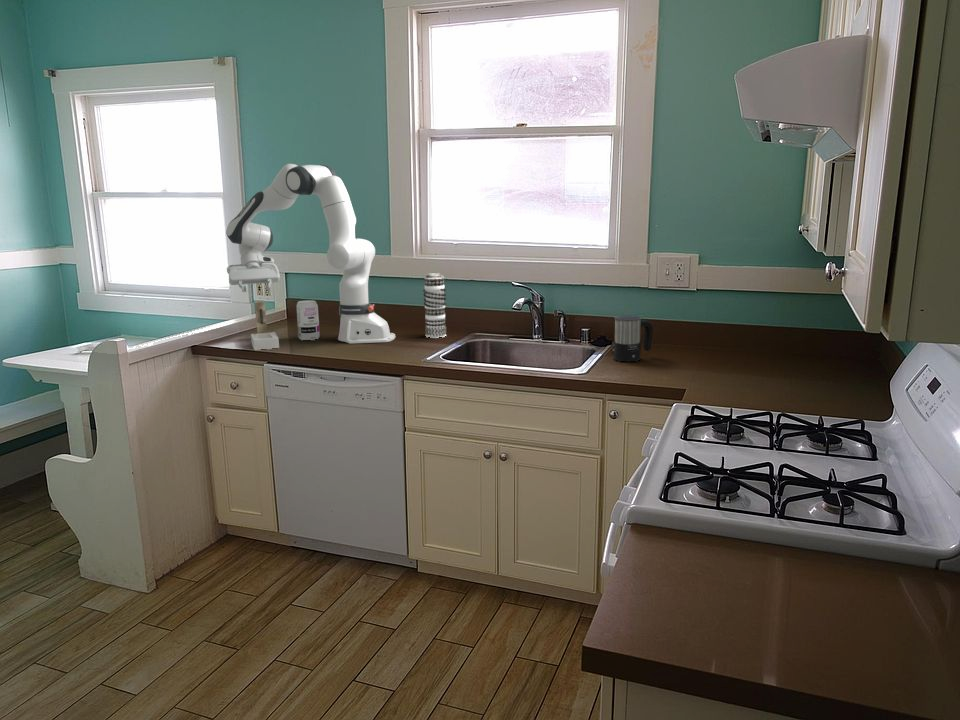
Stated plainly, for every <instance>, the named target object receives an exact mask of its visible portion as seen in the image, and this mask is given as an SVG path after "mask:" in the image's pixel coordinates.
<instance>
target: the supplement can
mask: <svg viewBox="0 0 960 720" xmlns="http://www.w3.org/2000/svg"><path fill="white" fill-rule="evenodd" d="M295 308H296V318H297V319H296V320H297V321H296V322H297V335H298V339H299V340H300V341H303V340H311V341H316V340H315V339H317V340H318V339H319V338H320V335H321V334H320V320H319V305H318V303H317V301H316V300H311V299H310V300H308V299H307V300H299V301H297V303H296V307H295Z"/></svg>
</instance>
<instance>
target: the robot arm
mask: <svg viewBox="0 0 960 720" xmlns="http://www.w3.org/2000/svg"><path fill="white" fill-rule="evenodd" d="M299 195H300V196H305V195H306V196H311V195H316V196H317V197H318V198H319V201H320V204H321V207H322V211H323V214H324V217H325V221H326V224H327V229H328V234H329V235H328V236H329V246H328V250H327V251H326V252H327V253H326V258H327V261H328V264H329V265H330V266H331V267H333V268H334V269H337V270H340V271H341V270H342V271H343V274H342V277H341V280H340V282H339V285H338V286H339V288H338V289H339V306H338V311H339V313H338V315H339V318H340V324H339V325H340V326H339V333H338V337H337V340H338V341H340V342H345V343H347V344H369V343H370V344H371V343H388V342H392V341H393V340H395V339H396V334H395V333H394V332H390V331H391V330H390V327H389V324H388V321H386V320H385V319H384V318H383V317H381V316H380V315H378V314H377V313H376V312H375V303H374V304H372V303H370V302H369V301H370V300H369V277H370V272H371V267H372V263H373V260H374V258H375V255H376V247H375V246H374V244H373V242H371V241H370V240H367V239H364V238H356V224H357V216H356V214H355V210H354V208H353V205H352V201H351V198H350V195H349V193H348V190H347V188H346V186H345V184H344V182H343V180H342V179H341V177H339V176H337V173H336V171H335V169H334V168H332V167H331V166H329V165H326V164H325V165H324V164H318V165H317V164H304V165H297V164H295V163H287V164H285V165H283V167H282V168H281V169H280V170H279V171H278V173H277V174H276V175H275V177H274V178H273V180H272V182H271V183H270V185H268V187H266V188H265V189H263V190H260V191H257V192H256V193H255V194H254V195H253V196H252V197H251V198H250V199H249V200H248V202H247V203H246V204H245V205H244V207H243V208H242V209H241V210H240V212H239V213H238V214H237V215H236V216H235V217H234V218H233V219H232V220H231V221H229V223H228V224H227V227H226V236H227V238H228V239H229V241H230V242H231V243H232V244H235V245H236V244H238V252H239V254H240V264H231V265H229V266H227V267H226V272H227V274H228V283H229V284H230V285H231V286H238V287H239V288H240V289H241V292H242V293H247V286H246V285H255V284H266V285H265V289H266V291H270V290H271V286H272V284H273V283H274V284H275V283H278V282H280V281H281V280H280V279H281V276H280V275H281V274H280V271H279V268H278V266H277V264H275V260H274V258H273V257H269V256H266V255H265V256H264V255H262V254H263V253H265V252H266V251H267V250H269V248H271V246H272V245H273V242H274V234H273V230H272V229H271V228H270V227H269V226H267V225H263V224H259V223H255V222H252V220H253V218H255V216H256V215H257V214H259V213H261V212H264V211H284V210H287V209H289V208H291V207H292V206H293V205H294V203H295V202H296V200H297V199H298V197H299Z"/></svg>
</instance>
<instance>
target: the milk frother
mask: <svg viewBox="0 0 960 720" xmlns="http://www.w3.org/2000/svg"><path fill="white" fill-rule="evenodd" d="M613 318H614V320H615V321H614V347H613V348H612V351H611V352H612V353H613V358H614V359H615V360H614V359H613V360H614V361H616V360H619V361H618V362H620V361H636V362H639V361H638V360H640V359H641V350H642V349H641V348H642V339H641V338H642V327H644V336H643V337H644V338H643V350H645V352H649V351H651V350H652V342H653V333H654V327H653V325H652V323H651V322H650V321H648V320H646V319H642V316H639V315H634V314H633V315H631V314H627V315H626V314H623V315H622V314H621V315H616V316H614V317H613ZM641 360H642V359H641ZM641 360H640V361H641Z"/></svg>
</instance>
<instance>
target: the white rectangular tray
mask: <svg viewBox="0 0 960 720" xmlns="http://www.w3.org/2000/svg"><path fill="white" fill-rule="evenodd" d="M250 339H251V340H250V342H251V346H252V348H253V351H254V350H255V351H262V350H261V349H267V350H273V349H272V348H278V349H280V343H279V341H280V340H279V336H278V334H277V333H276V332H275V331H274V332H267V333H260V334H257V333H251V334H250Z"/></svg>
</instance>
